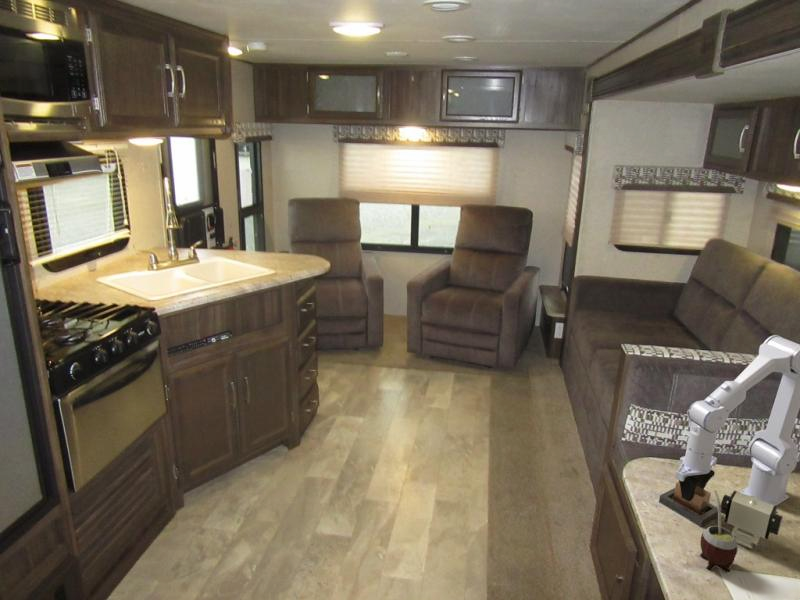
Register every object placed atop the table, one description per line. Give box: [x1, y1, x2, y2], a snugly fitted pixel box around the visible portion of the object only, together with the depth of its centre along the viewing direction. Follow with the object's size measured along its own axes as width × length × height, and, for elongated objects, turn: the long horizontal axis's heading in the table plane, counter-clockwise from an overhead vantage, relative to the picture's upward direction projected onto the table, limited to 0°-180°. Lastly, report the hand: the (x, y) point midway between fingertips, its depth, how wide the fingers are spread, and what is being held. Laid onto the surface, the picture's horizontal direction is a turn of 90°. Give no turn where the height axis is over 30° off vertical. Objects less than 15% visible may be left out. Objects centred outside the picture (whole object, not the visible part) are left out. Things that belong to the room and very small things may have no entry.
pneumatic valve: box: [720, 490, 784, 550], centre depth 132 cm, size 6×12×12 cm, turn 48°
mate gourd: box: [699, 490, 738, 573], centre depth 125 cm, size 8×8×15 cm
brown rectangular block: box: [673, 481, 711, 516], centre depth 144 cm, size 7×4×5 cm, turn 32°
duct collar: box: [658, 487, 718, 528], centre depth 145 cm, size 8×11×2 cm
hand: (690, 496), depth 144 cm, fingers closed on brown rectangular block, 3 cm apart
